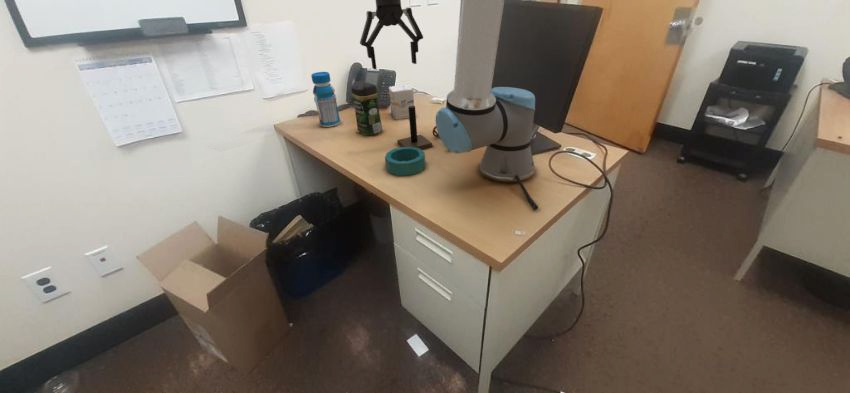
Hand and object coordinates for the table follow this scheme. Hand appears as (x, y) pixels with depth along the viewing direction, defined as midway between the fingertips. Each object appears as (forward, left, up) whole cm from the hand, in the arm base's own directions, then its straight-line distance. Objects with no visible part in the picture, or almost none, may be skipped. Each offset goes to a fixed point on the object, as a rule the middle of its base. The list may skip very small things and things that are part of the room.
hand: (394, 65), depth 114 cm
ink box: (+21, -9, -25) cm, 34 cm away
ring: (-23, +9, -25) cm, 35 cm away
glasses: (-15, -14, -25) cm, 33 cm away
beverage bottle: (+29, +20, -25) cm, 42 cm away
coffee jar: (+11, +9, -25) cm, 28 cm away
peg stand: (-10, 0, -25) cm, 27 cm away
